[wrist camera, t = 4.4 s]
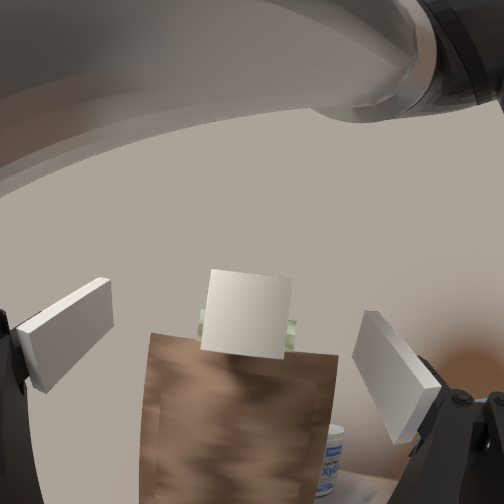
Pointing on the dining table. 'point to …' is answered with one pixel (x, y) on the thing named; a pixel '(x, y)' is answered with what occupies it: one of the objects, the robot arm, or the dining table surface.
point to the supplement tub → (331, 460)
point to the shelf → (233, 424)
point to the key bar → (246, 314)
